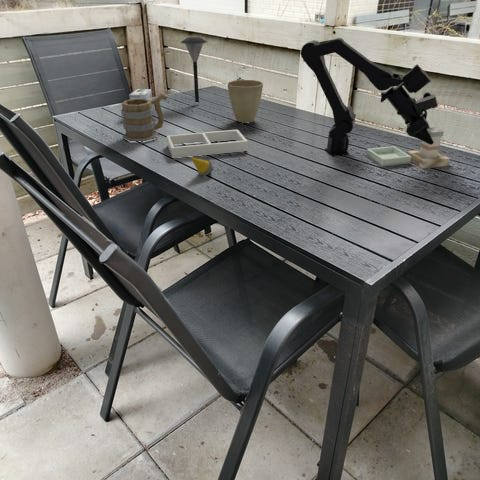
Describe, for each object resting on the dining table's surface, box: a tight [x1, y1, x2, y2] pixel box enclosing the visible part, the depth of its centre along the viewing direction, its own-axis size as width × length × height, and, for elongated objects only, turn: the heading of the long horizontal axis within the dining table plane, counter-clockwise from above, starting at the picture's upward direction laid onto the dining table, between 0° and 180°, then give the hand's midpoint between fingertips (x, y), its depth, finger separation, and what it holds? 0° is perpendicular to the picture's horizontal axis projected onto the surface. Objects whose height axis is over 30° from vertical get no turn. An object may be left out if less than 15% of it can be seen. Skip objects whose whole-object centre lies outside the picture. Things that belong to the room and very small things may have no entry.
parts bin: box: [166, 129, 249, 159], centre depth 160 cm, size 27×14×4 cm, turn 105°
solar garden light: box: [180, 36, 208, 103], centre depth 207 cm, size 12×12×30 cm
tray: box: [365, 145, 412, 168], centre depth 150 cm, size 11×11×2 cm
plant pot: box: [227, 79, 264, 124], centre depth 186 cm, size 15×15×16 cm
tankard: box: [120, 93, 168, 142], centre depth 170 cm, size 20×13×15 cm, turn 131°
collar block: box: [406, 149, 451, 170], centre depth 148 cm, size 10×10×2 cm
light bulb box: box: [128, 88, 154, 107], centre depth 196 cm, size 11×7×11 cm, turn 172°
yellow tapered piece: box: [189, 157, 214, 177], centre depth 138 cm, size 5×5×10 cm
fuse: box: [419, 127, 445, 159], centre depth 146 cm, size 4×4×11 cm
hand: (432, 139), depth 144 cm, fingers open, 9 cm apart
